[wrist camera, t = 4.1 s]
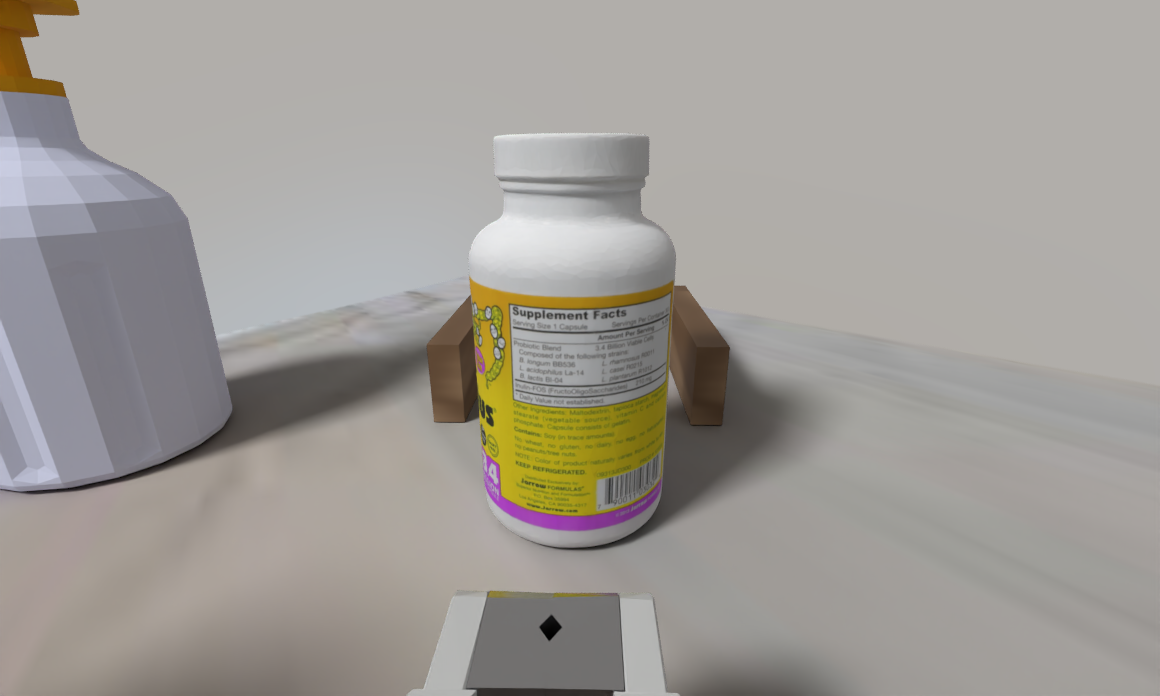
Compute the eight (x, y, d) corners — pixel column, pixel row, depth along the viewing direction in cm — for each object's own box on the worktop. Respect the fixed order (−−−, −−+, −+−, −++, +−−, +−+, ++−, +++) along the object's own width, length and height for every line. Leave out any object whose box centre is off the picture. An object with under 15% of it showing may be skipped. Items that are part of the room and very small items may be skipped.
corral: (681, 341, 38) (685, 285, 36) (721, 425, 26) (729, 347, 25) (483, 339, 38) (479, 284, 37) (434, 421, 26) (426, 344, 25)
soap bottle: (173, 486, 21) (-84, -390, 13) (-98, 507, 20) (-576, -452, 12) (264, 392, 29) (143, -175, 21) (77, 403, 28) (-129, -197, 20)
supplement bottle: (510, 447, 24) (496, 139, 20) (660, 457, 23) (679, 138, 19) (459, 549, 18) (422, 130, 13) (662, 569, 17) (690, 129, 13)
